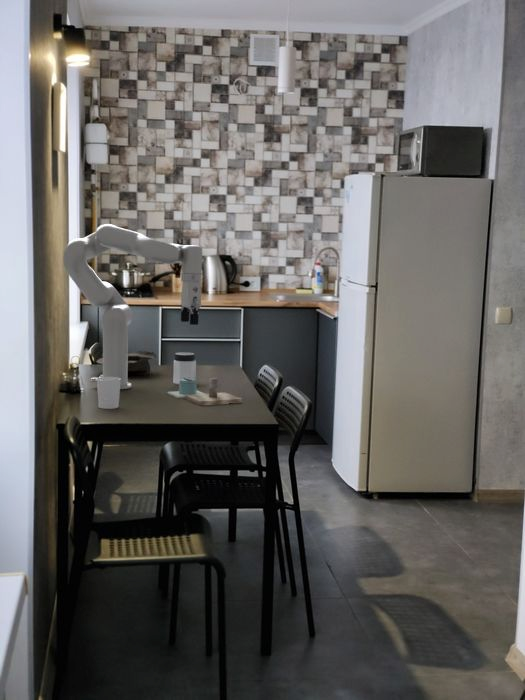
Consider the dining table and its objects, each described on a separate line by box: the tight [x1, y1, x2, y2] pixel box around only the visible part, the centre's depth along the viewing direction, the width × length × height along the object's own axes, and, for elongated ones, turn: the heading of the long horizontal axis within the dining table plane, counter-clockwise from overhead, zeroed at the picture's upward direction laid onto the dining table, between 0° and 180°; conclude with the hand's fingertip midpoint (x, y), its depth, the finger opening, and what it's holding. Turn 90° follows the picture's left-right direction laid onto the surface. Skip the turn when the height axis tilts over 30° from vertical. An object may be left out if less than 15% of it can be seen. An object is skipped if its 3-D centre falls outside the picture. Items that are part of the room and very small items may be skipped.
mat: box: [167, 389, 205, 399], centre depth 344 cm, size 12×10×1 cm
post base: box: [184, 377, 243, 407], centre depth 334 cm, size 16×14×8 cm
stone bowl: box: [96, 350, 158, 376], centre depth 389 cm, size 25×25×9 cm
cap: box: [178, 378, 197, 395], centre depth 344 cm, size 6×6×6 cm
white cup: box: [96, 376, 121, 410], centre depth 316 cm, size 8×8×10 cm
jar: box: [172, 351, 197, 386], centre depth 369 cm, size 9×8×12 cm
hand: (189, 323), depth 351 cm, fingers open, 9 cm apart
